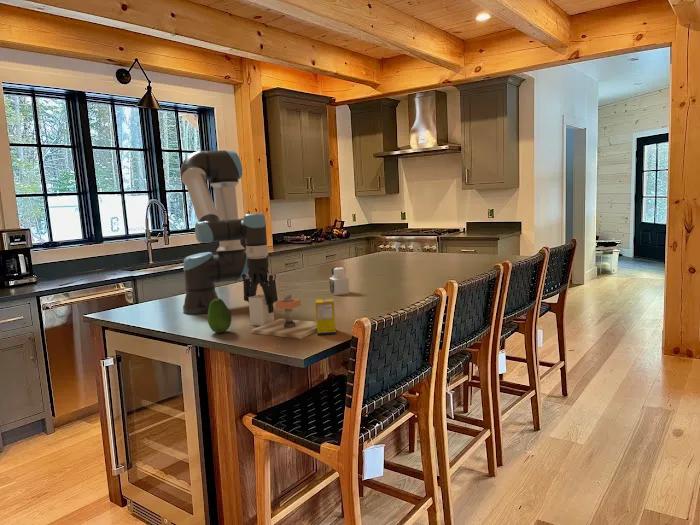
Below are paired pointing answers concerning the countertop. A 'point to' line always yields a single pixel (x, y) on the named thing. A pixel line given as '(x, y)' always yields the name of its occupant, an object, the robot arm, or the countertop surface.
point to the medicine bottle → (339, 281)
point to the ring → (288, 304)
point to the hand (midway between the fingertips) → (262, 320)
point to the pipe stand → (287, 325)
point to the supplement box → (325, 316)
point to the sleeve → (258, 310)
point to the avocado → (218, 316)
